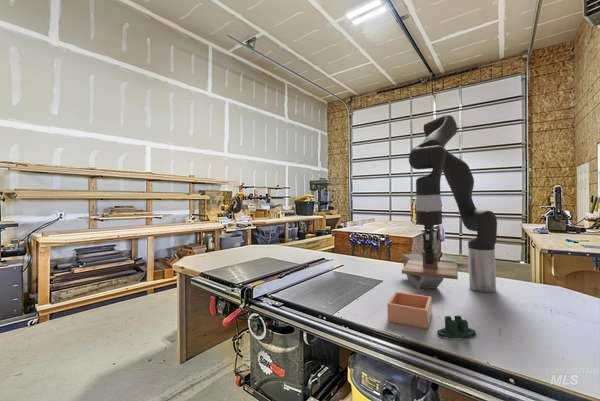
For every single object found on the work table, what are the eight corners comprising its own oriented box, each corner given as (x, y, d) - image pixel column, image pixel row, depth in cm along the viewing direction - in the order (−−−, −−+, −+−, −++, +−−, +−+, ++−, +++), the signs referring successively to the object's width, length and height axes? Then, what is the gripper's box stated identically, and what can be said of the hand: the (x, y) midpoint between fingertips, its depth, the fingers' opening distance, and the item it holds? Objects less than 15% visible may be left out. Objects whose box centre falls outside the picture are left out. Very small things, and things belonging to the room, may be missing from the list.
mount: (442, 340, 77) (441, 323, 76) (434, 332, 81) (433, 316, 81) (480, 338, 77) (479, 321, 77) (470, 330, 81) (469, 314, 81)
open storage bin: (395, 307, 99) (395, 291, 98) (432, 314, 92) (431, 296, 92) (387, 321, 88) (387, 303, 88) (428, 329, 82) (427, 310, 82)
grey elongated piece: (445, 293, 110) (444, 267, 110) (425, 294, 110) (425, 268, 110) (418, 275, 135) (417, 253, 135) (403, 275, 135) (402, 254, 135)
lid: (409, 262, 97) (408, 245, 96) (457, 266, 89) (457, 248, 89) (401, 273, 84) (401, 254, 84) (457, 279, 76) (457, 258, 76)
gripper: (418, 207, 94) (420, 256, 94) (412, 210, 82) (414, 266, 82) (442, 207, 90) (444, 258, 90) (440, 210, 78) (442, 269, 78)
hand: (430, 262), depth 86 cm, fingers closed on lid, 4 cm apart
